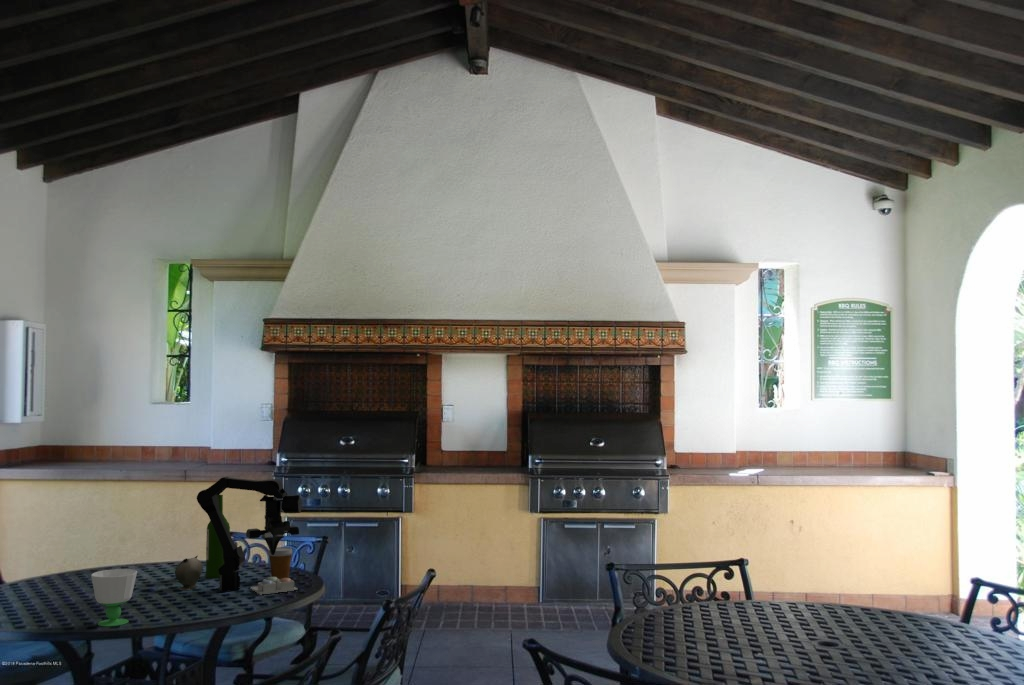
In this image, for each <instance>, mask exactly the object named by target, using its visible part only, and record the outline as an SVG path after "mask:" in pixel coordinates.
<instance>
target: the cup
mask: <svg viewBox="0 0 1024 685" xmlns="http://www.w3.org/2000/svg"><path fill="white" fill-rule="evenodd" d="M137 575H138V570H135V569H129V568H115V569H105V570H99V571H95V572H93V573H91V575H90V577H91V582H92V587H93V591H94V593H93V594H94V597H95V600H96V603H98V604H100V605H103V606H106V607H107V608H106V610H105V616H106V617H107V619H104V620H101V621H99V622H98V623H97V625H98V626H99V627H106V628H107V627H117V626H123V625H125V624H127V623H129V620H128V619H126V618H120V616H121V614H122V608H121V605H122V604H125V603H126V602H128V601H129V600H130V599H131V598H132V597H133V592H134V589H135V584H136V580H137Z"/></svg>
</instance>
